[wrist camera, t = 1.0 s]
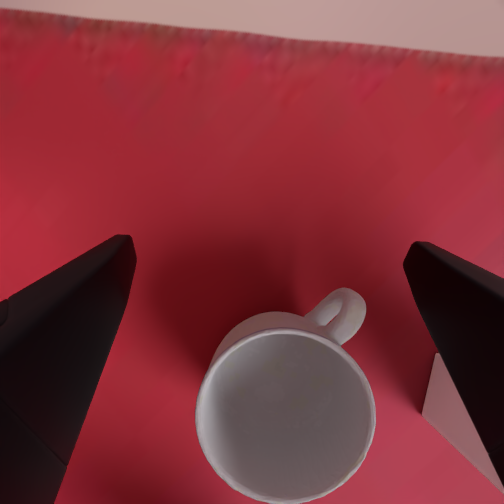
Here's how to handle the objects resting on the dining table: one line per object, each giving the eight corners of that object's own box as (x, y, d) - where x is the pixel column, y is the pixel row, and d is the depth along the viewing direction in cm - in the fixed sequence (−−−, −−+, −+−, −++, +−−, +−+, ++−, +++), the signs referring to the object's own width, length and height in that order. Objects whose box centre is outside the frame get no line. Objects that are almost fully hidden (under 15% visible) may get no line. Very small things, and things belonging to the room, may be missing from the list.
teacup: (269, 446, 25) (286, 544, 17) (179, 363, 24) (153, 426, 16) (381, 333, 25) (450, 378, 17) (296, 246, 24) (327, 251, 16)
